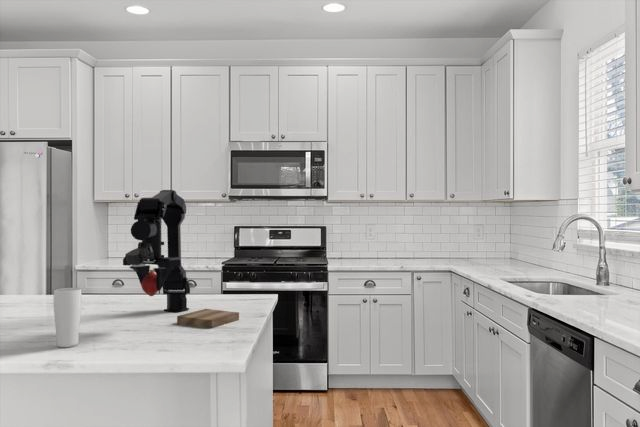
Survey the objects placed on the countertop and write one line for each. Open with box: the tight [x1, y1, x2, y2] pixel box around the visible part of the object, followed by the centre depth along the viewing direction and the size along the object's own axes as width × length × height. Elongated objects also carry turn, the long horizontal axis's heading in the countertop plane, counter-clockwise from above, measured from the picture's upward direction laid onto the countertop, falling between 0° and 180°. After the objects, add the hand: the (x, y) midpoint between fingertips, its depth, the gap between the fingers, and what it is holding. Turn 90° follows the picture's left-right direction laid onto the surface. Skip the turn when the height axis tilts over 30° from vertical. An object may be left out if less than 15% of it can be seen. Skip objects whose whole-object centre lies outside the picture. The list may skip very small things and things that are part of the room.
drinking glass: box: [53, 287, 83, 349], centre depth 137 cm, size 7×7×15 cm
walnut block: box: [176, 308, 240, 329], centre depth 167 cm, size 14×14×3 cm
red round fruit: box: [140, 269, 159, 297], centre depth 157 cm, size 6×6×8 cm
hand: (151, 289), depth 157 cm, fingers closed on red round fruit, 6 cm apart
